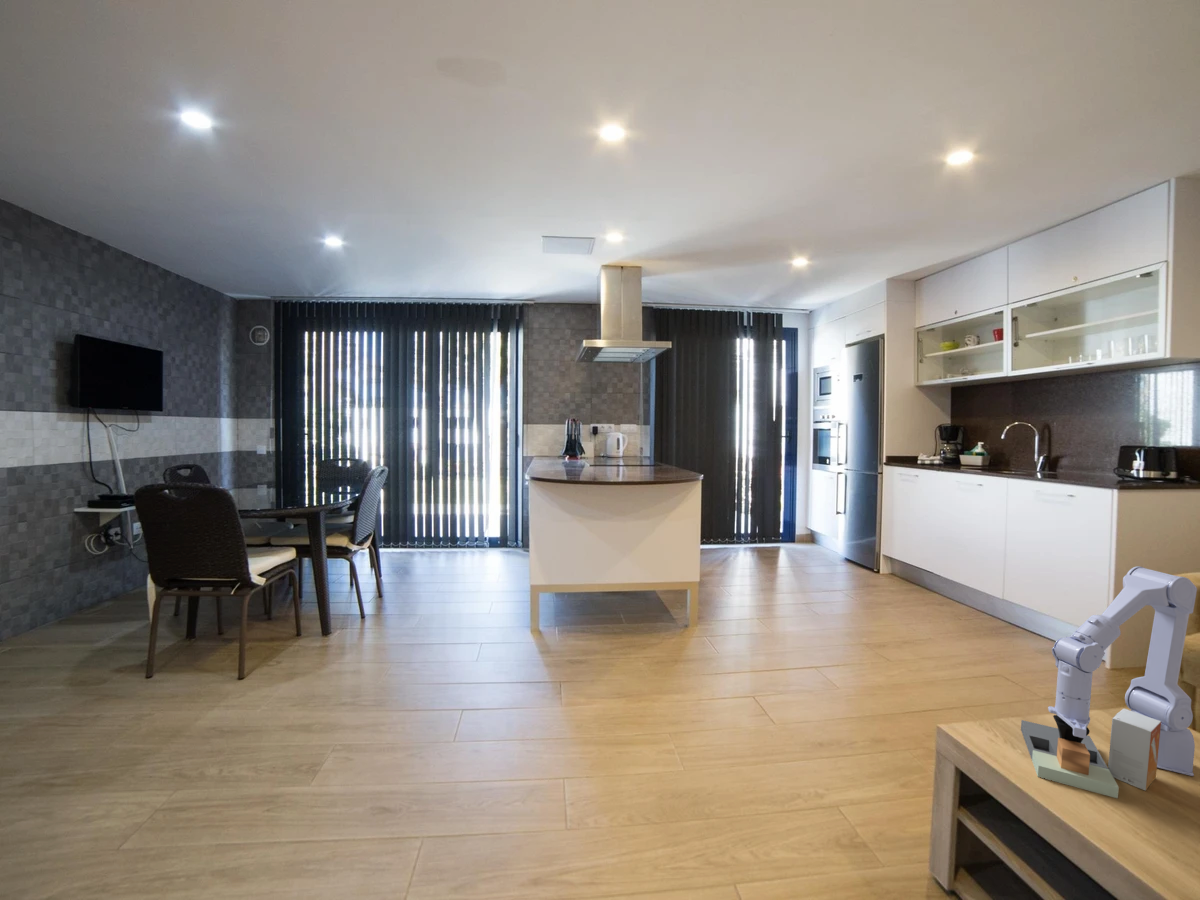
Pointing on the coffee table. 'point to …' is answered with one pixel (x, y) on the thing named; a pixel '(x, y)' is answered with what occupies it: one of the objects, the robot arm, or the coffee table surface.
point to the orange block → (1073, 756)
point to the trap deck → (1047, 766)
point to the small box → (1134, 748)
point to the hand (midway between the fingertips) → (1068, 752)
